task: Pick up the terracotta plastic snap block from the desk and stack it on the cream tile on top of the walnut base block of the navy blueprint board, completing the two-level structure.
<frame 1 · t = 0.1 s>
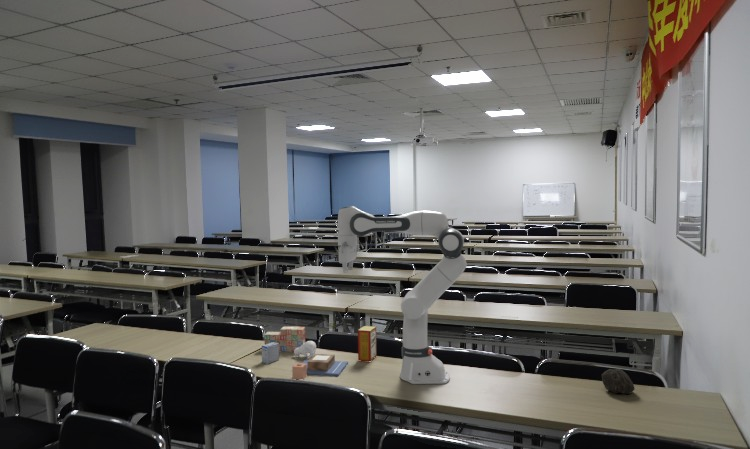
hand: (348, 271, 223), 48 cm above the table, fingers open, 8 cm apart
baking soda box: (367, 359, 247), on the table
medicine box: (270, 361, 245), on the table
snap block: (299, 378, 220), on the table
stack of blocks: (285, 350, 265), on the table
rock: (617, 392, 198), on the table
blueprint board: (321, 368, 233), on the table
white animal figurine: (304, 357, 251), on the table
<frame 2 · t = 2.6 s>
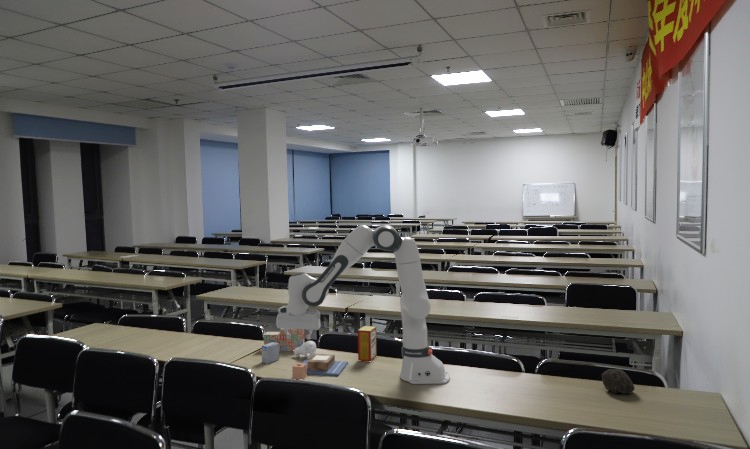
hand: (298, 338, 219), 18 cm above the table, fingers open, 8 cm apart
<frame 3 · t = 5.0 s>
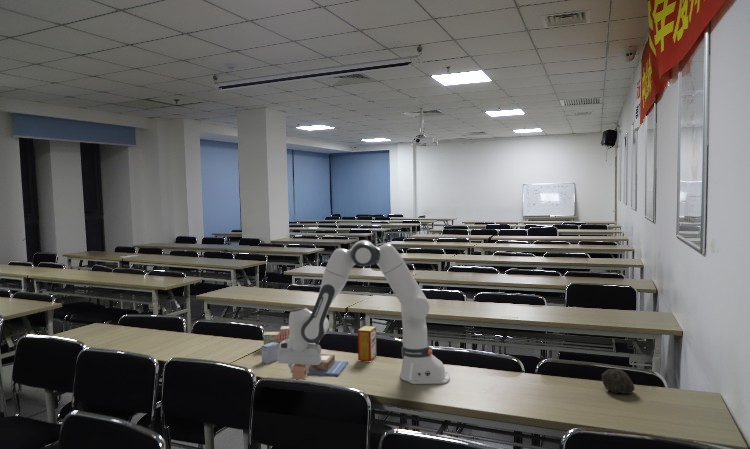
hand: (299, 373, 220), 2 cm above the table, fingers closed on snap block, 5 cm apart
snap block: (299, 377, 220), on the table, touching gripper
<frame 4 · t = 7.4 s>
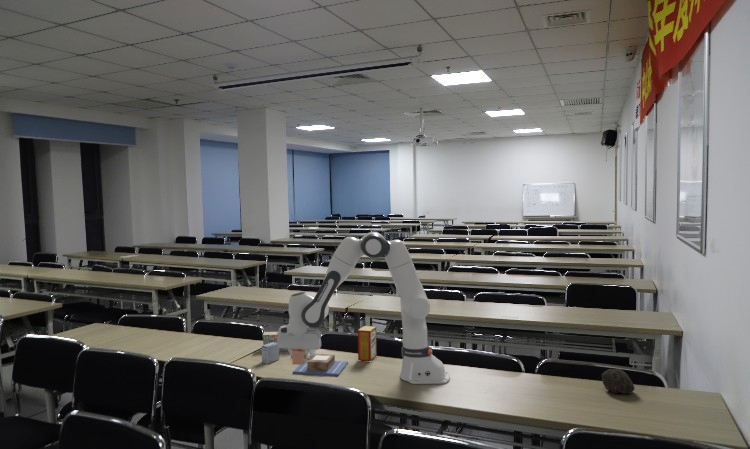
hand: (299, 358, 220), 9 cm above the table, fingers closed on snap block, 5 cm apart
snap block: (299, 362, 220), point 7 cm above the table, touching gripper
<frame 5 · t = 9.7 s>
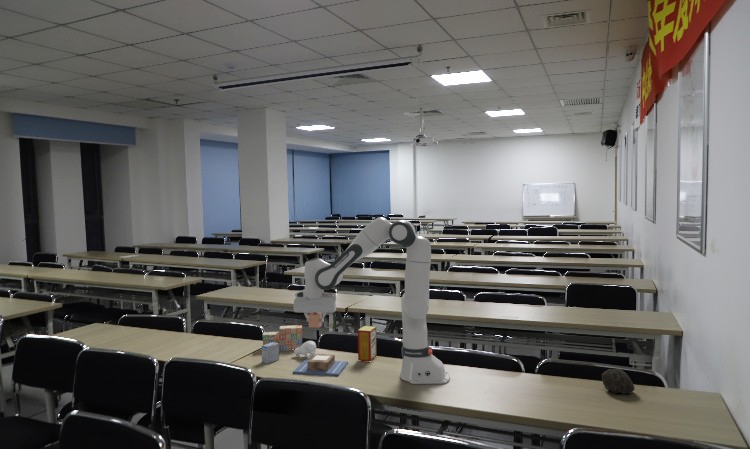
hand: (315, 321, 228), 24 cm above the table, fingers closed on snap block, 5 cm apart
snap block: (315, 326, 228), point 21 cm above the table, touching gripper
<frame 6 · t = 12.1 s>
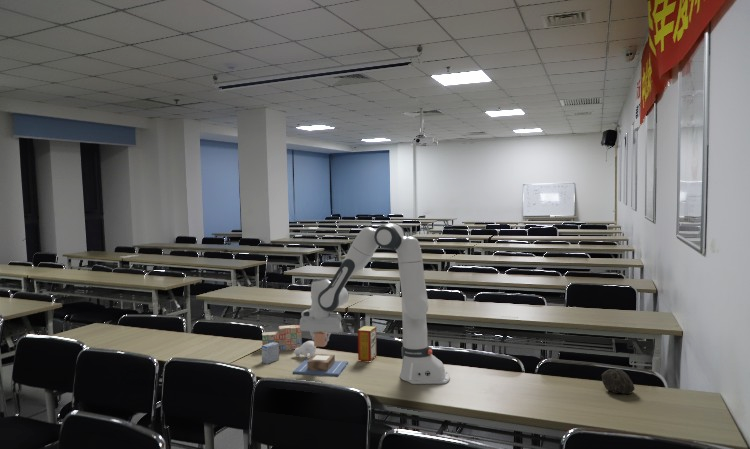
hand: (320, 340, 232), 13 cm above the table, fingers closed on snap block, 5 cm apart
snap block: (320, 345, 232), point 11 cm above the table, touching gripper
when the fingers open (9 cm above the table, at t = 14.2 s): snap block drops 2 cm, resting on blueprint board.
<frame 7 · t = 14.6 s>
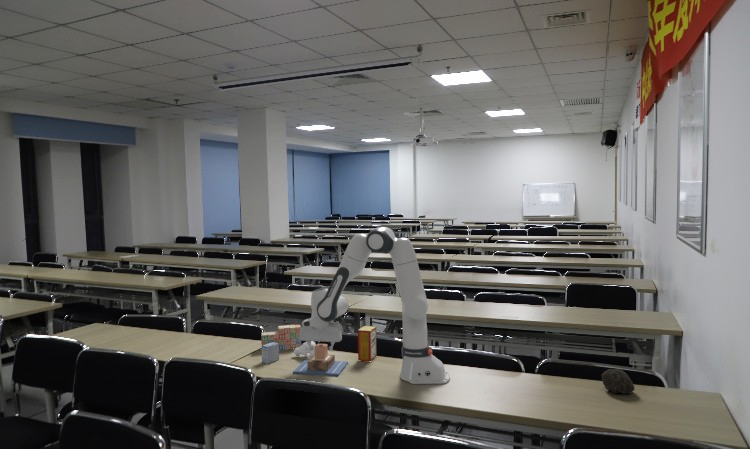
hand: (321, 350, 232), 9 cm above the table, fingers open, 8 cm apart
snap block: (321, 357, 233), point 5 cm above the table, touching blueprint board
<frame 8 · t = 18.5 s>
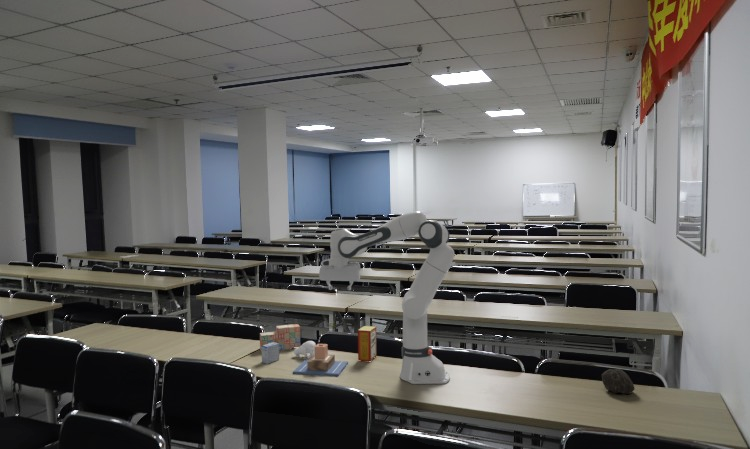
hand: (339, 289, 237), 37 cm above the table, fingers open, 8 cm apart
at the end: snap block 0.1 cm off-centre on the blueprint board, point 5.2 cm above the blueprint board's base; snap block tilted 0°; the gripper is holding nothing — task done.
